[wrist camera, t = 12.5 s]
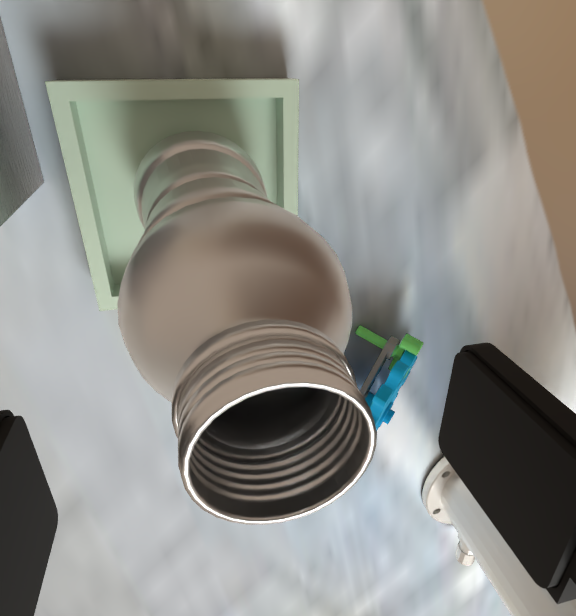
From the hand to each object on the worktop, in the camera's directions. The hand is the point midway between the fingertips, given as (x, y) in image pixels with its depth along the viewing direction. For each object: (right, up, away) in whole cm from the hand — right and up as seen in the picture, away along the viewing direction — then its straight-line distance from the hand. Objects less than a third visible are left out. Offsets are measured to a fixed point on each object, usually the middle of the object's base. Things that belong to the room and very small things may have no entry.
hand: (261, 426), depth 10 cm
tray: (-5, +9, +16) cm, 19 cm away
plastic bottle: (-4, +10, +15) cm, 19 cm away
